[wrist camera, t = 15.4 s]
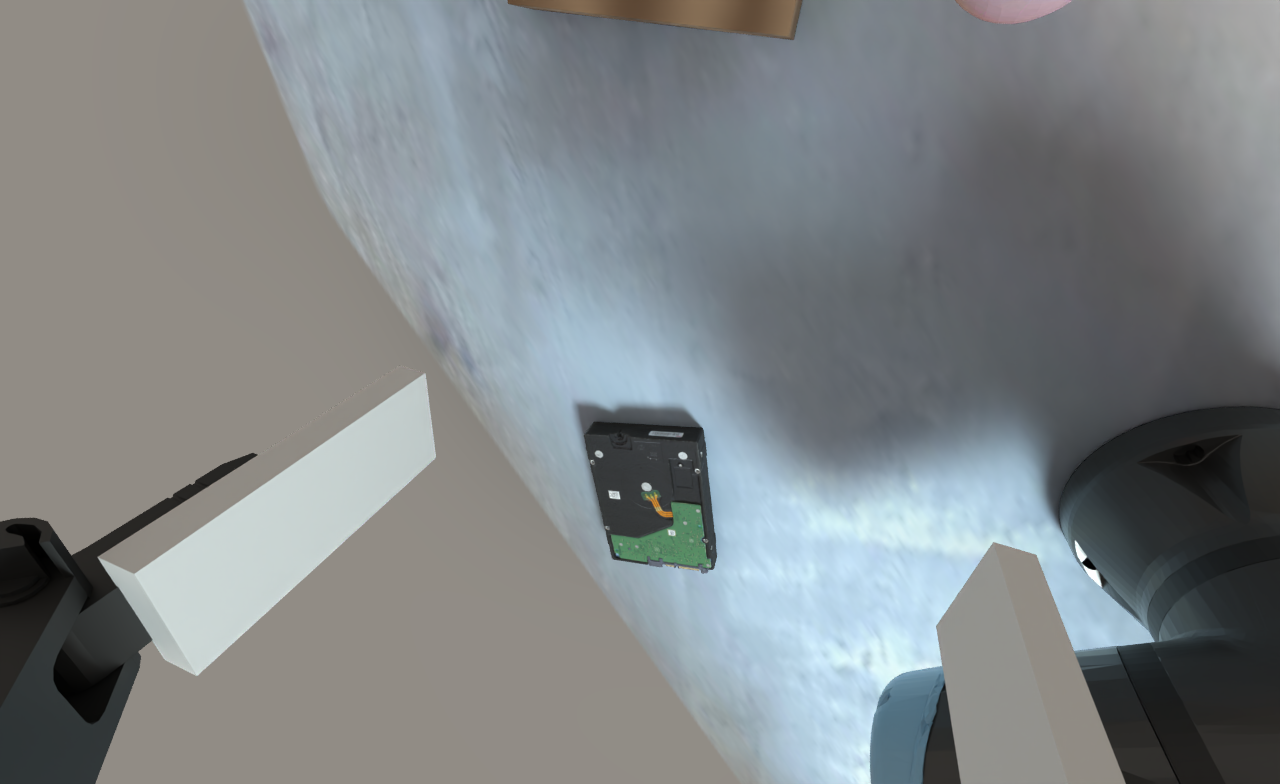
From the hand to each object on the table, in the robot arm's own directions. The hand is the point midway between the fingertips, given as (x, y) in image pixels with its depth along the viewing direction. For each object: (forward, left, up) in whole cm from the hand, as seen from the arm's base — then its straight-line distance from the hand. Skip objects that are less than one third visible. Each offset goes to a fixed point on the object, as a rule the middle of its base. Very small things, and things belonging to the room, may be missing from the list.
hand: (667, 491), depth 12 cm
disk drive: (+5, +25, -27) cm, 38 cm away
